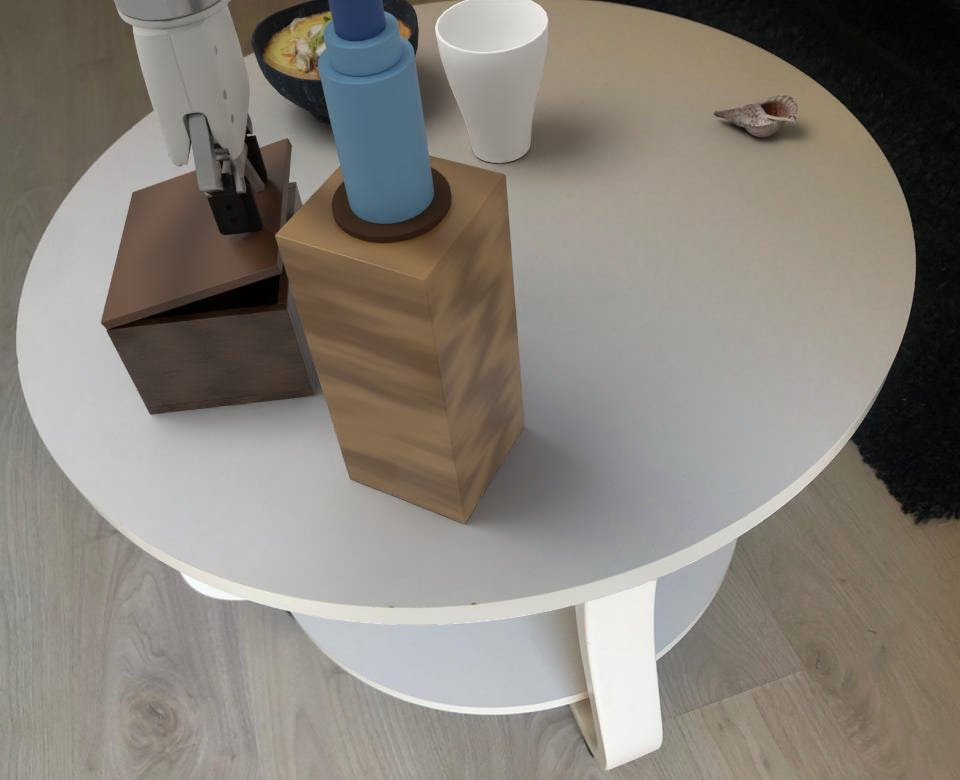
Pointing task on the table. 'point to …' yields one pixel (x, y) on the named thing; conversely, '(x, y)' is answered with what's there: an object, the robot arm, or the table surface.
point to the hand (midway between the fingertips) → (244, 204)
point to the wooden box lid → (194, 242)
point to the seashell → (763, 115)
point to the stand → (415, 341)
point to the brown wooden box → (221, 347)
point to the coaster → (396, 230)
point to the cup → (495, 71)
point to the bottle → (375, 112)
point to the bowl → (310, 49)
